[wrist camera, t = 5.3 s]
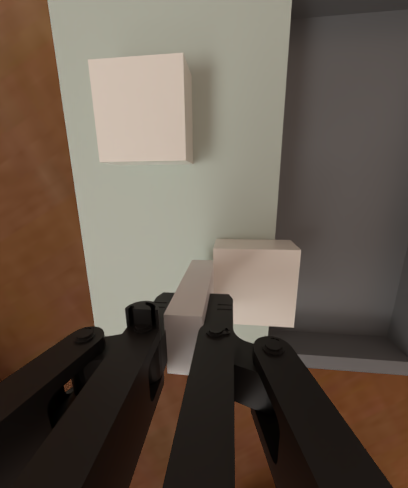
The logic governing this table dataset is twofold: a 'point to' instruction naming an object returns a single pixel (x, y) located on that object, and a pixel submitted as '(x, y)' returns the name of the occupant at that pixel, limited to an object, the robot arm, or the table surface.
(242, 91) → the board
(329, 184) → the tray
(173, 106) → the tile
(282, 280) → the tile
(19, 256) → the table surface
